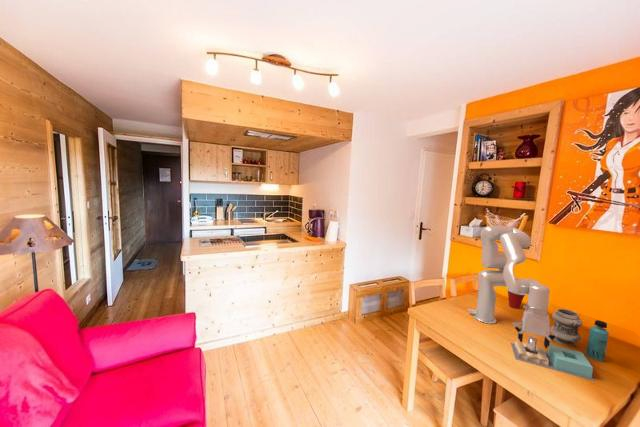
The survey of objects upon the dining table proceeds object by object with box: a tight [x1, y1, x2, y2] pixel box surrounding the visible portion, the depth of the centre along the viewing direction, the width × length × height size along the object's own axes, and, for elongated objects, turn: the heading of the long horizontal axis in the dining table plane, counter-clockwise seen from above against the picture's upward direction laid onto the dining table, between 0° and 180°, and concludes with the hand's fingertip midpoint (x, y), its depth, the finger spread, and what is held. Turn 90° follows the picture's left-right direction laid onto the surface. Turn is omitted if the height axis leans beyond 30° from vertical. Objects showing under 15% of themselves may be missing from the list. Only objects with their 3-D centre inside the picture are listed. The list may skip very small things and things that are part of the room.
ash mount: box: [514, 340, 549, 366], centre depth 128 cm, size 11×11×2 cm
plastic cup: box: [506, 287, 527, 310], centre depth 182 cm, size 11×11×12 cm
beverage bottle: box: [585, 319, 610, 362], centre depth 127 cm, size 6×7×20 cm
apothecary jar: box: [550, 308, 583, 348], centre depth 140 cm, size 12×12×18 cm
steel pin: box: [527, 335, 538, 354], centre depth 128 cm, size 3×3×9 cm
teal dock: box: [547, 343, 594, 378], centre depth 121 cm, size 12×12×5 cm
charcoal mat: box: [510, 342, 597, 382], centre depth 125 cm, size 28×15×2 cm, turn 62°
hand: (532, 343), depth 127 cm, fingers open, 9 cm apart
